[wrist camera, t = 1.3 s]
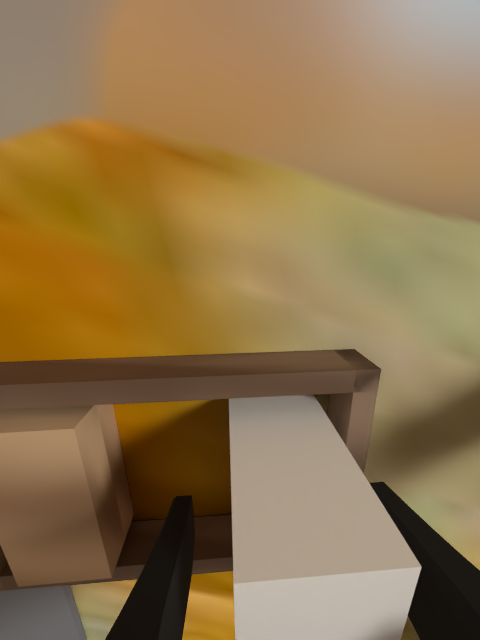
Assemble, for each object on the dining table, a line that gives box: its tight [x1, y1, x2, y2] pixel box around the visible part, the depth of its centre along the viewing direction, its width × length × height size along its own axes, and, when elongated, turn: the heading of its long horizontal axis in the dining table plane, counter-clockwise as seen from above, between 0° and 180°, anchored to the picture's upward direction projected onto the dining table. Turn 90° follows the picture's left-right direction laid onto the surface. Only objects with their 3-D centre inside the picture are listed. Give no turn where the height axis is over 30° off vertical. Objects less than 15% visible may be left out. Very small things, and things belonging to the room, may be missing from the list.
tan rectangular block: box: [0, 404, 134, 587], centre depth 11 cm, size 8×4×3 cm, turn 1°
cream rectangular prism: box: [229, 395, 421, 640], centre depth 9 cm, size 7×4×7 cm, turn 1°
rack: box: [0, 349, 381, 591], centre depth 11 cm, size 11×18×2 cm, turn 91°
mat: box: [0, 585, 87, 640], centre depth 15 cm, size 8×7×1 cm
